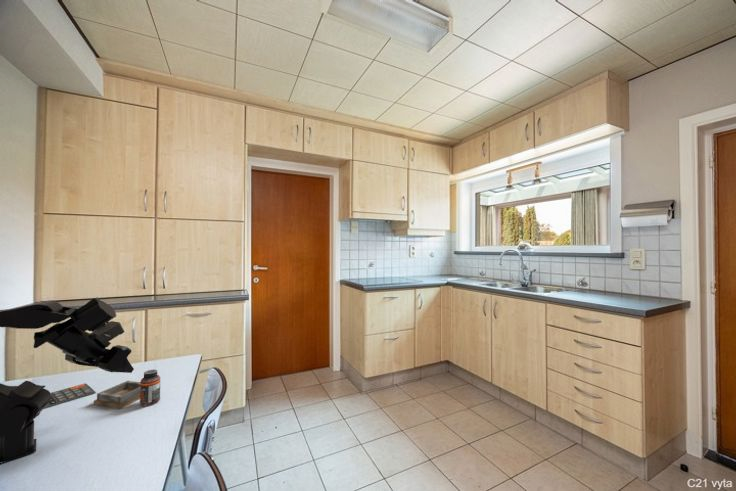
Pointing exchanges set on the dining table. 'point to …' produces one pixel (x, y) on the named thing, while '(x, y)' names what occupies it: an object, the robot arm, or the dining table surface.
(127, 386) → the collar stand
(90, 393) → the calculator
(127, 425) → the dining table surface
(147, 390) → the supplement bottle
